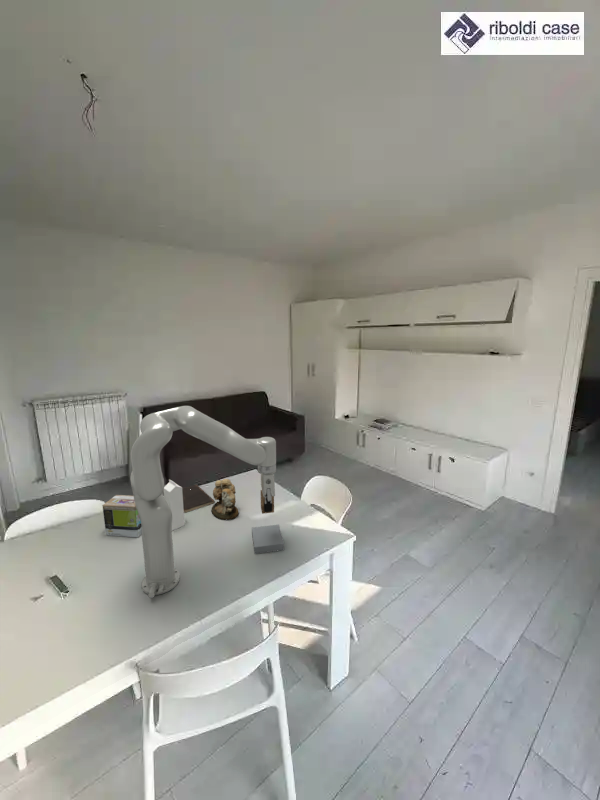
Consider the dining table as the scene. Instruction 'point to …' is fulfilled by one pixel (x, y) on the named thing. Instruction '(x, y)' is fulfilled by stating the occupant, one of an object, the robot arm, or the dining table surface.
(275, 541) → the slate platform
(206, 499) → the hardcover book
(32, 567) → the dining table surface
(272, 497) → the walnut block
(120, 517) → the tea box
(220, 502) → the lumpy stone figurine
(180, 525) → the milk
